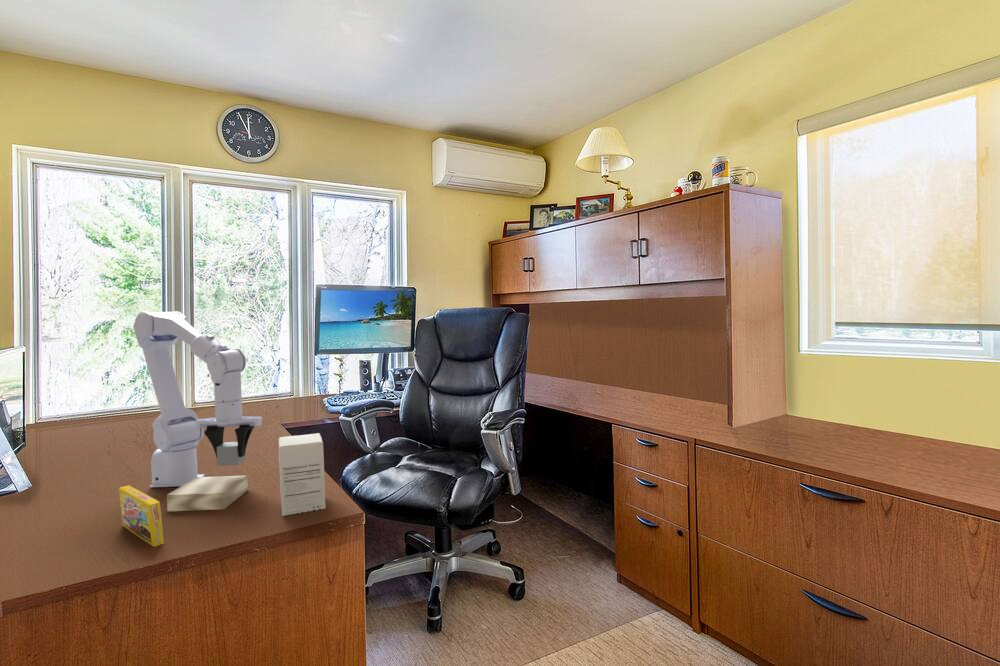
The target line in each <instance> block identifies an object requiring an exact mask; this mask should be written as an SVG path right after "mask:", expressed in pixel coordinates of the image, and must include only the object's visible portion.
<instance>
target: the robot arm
mask: <svg viewBox="0 0 1000 666" xmlns="http://www.w3.org/2000/svg"><path fill="white" fill-rule="evenodd" d="M133 329H134V330H133V331H134V333H135V337H136V341H137V344H138V346H139V348H141V349H142V351H143V356H144V360H145V362H146V367H147V371H148V373H149V376H150V379H151V380H150V381H151V384H152V386H153V390H154V393H155V397H156V400H157V404H158V407H159V411H160V414H159V415H158V417H157V418H156V419H154V421H153V422H152V423H151V424H152V425H151V426H152V430H153V437H152V438H153V442H154V445H155V446H156V447H157V449H156V450H155V451H154V452H153V453H152V456H151V460H150V466H151V468H150V470H151V484H150V485H149V487H150V488H169V487H181V486H183V485H184V484H186V483H188V482H189V481H191V480H193V479H194V478H196V477H206V476H205V473H202V474H201V473H200V474H198V459H197V458H198V457H197V446H198V445H200V441H201V440H202V439H203V437H204V436H206V438H207V439H208V441H209V442H210V444H211V446H212V448H213V451H214V453H215V458H216V459H217V447H218V446H220V445H221V444H223V443H224V432H225V428H226V427H227V428H229V427H237V428H235V429H234V432H235V437H236V442H238V456H239V457H242V456H244V455H245V456H246V450H247V446H248V442H249V440H250V437H251V434H252V432H253V430H254V428H255V427H260V426H262V425H263V417H262V416H250V415H249V416H247V415H246V416H243V403H242V402H243V399H242V396H243V395H242V378H241V377H242V373H241V372H243V371H244V370H245V368H246V366H247V365H246V364H247V359H246V357H245V354H244V352H242V350H240V349H239V348H233V349H232V348H228V346H227V345H226V344H225V343H224V344H223V343H222V342H220V341H219V340H217V339H216V338H215V335H213V334H210V333H209V334H208V333H207V334H206V333H205V334H201V333H200V332H199V331H198V330H197V329H196V328H195V327H194V326H193V325H191V324H190V323H189V322H188V321H187V317H186V315H184V314H183V313H182V312H180V311H177V310H175V311H150V312H149V311H140V312H139V313H138V314H137V315H136V317H135V319H134V323H133ZM178 340H181V341H183V342H184V343H186V344H187V345H189V346H190V351H191V353H192V354H193V355H195V356H196V357H198V359H200V360H201V361H203V362H204V363H205V364H206V367H207V370H208V372H209V374H210V379H211V380H210V381H212V383H213V391H214V392H213V393H214V408H215V409H214V412H215V413H214V416H215V417H208V418H199V417H198V415H197V412H195V411H193V410H192V409H189V408H188V407H186V405H185V402H184V399H183V396H182V393H181V389H180V386H179V382H178V379H177V376H176V373H175V370H174V367H173V363H172V360H171V356H170V353H169V349H170V348H171V347H172V346H175V344H176V343H177V341H178ZM204 428H206V429H205V430H204Z"/></svg>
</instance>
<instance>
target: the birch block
mask: <svg viewBox="0 0 1000 666" xmlns="http://www.w3.org/2000/svg"><path fill="white" fill-rule="evenodd" d="M248 483H249V482H248V475H226V476H225V475H224V476H223V475H222V476H220V475H219V476H204V477H196V478H194V479H193V480H191V481H189V482H188V483H186V484H184V485H183V486H178V488H176V489H174V490H173V491H171V492H169V493H168V494H166V504H167V505H166V507H167V509H166V511H167V512H183V511H184V512H185V511H186V512H187V511H189V512H191V511H207V510H211V511H212V510H214V511H215V510H226V508H227V507H229V506H230V505H231V504H232V503H234V502H235V501H236V500H237V499H238V498H239V499H240V497H242V495H243V494H245V493H246V492H247V491H249V488H248V487H249V484H248Z"/></svg>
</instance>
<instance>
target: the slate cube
mask: <svg viewBox="0 0 1000 666" xmlns="http://www.w3.org/2000/svg"><path fill="white" fill-rule="evenodd" d="M245 460H246V454H245V455H244V456H242V457H239V456H238V442H237V441H226V442H223V444H221V445H220V446H218V447H217V458H216V461H217V467H219V466H222V467H223V466H224V467H226V466H238V465H240V464H241V463H243V462H244V461H245Z"/></svg>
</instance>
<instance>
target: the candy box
mask: <svg viewBox="0 0 1000 666" xmlns="http://www.w3.org/2000/svg"><path fill="white" fill-rule="evenodd" d="M118 495H119V505H120V513H121V522H122V523H121V524H122V527H124V528H125V529H127V530H128V531H130V532H131V533H132V534H134V535H135V536H137V537H138V538H139V539H142V540H143V541H145V542H146V543H147V544H149V545H150V546H152V547H153V548H155V547H158V546H161V545H164V543H165V541H164V533H163V531H164V530H163V522H162V520H163V519H162V509H161V502H160V501H159V500H158V499H155V498H153V497H152V496H150V495H148V494H146V493H144V492H142V491H140V490H139V489H137V488H134V487H132V485H130V484H128V485H125V486H120V487H119V488H118Z"/></svg>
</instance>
